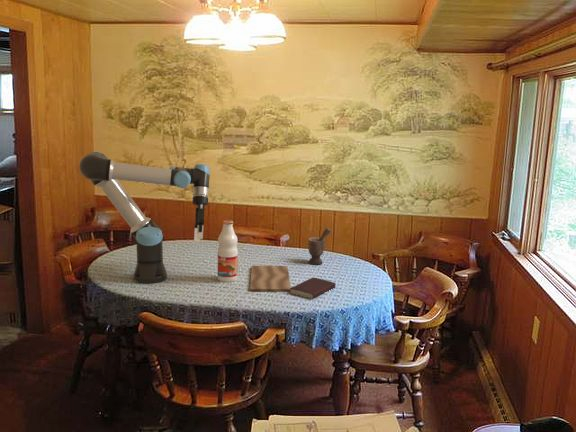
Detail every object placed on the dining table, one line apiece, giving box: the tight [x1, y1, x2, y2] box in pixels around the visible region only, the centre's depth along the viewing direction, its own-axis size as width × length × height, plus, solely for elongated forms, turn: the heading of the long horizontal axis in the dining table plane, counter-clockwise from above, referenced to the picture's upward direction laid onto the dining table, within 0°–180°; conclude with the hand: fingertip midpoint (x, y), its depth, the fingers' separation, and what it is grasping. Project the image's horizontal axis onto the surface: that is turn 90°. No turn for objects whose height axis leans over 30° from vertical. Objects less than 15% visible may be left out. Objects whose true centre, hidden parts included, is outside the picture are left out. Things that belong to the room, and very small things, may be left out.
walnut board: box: [249, 265, 292, 293], centre depth 253 cm, size 18×36×1 cm, turn 3°
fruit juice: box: [217, 219, 239, 283], centre depth 249 cm, size 9×9×28 cm
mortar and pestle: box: [307, 227, 332, 266], centre depth 279 cm, size 12×9×20 cm
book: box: [289, 277, 336, 300], centre depth 239 cm, size 12×19×3 cm, turn 145°
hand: (198, 240), depth 255 cm, fingers open, 13 cm apart
